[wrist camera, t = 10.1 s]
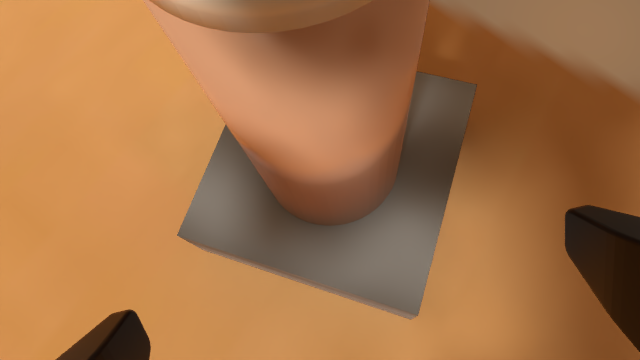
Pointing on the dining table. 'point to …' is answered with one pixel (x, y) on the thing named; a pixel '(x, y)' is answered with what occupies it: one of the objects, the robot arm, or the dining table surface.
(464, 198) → the dining table surface
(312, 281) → the riser block
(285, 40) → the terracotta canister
